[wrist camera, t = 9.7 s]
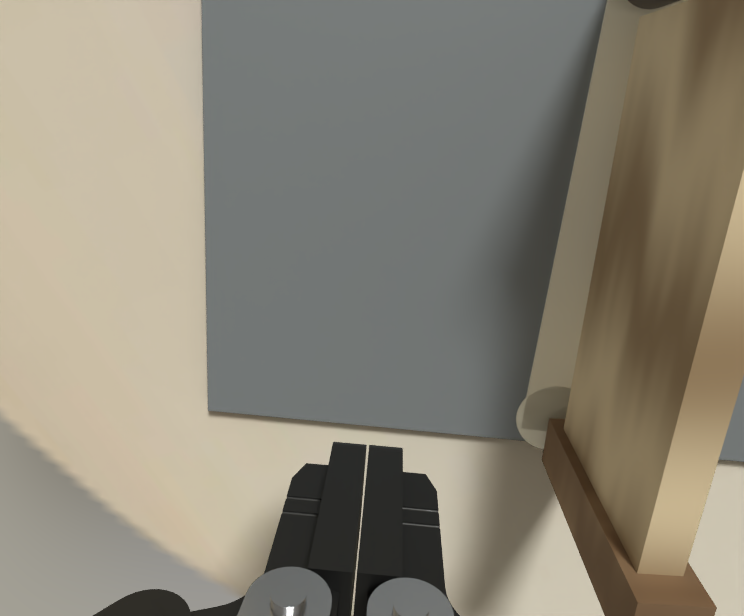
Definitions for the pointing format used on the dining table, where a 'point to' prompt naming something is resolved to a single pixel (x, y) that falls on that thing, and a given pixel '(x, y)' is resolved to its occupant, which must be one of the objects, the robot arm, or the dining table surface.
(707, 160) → the fence gate
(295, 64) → the board
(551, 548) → the dining table surface
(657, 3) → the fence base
